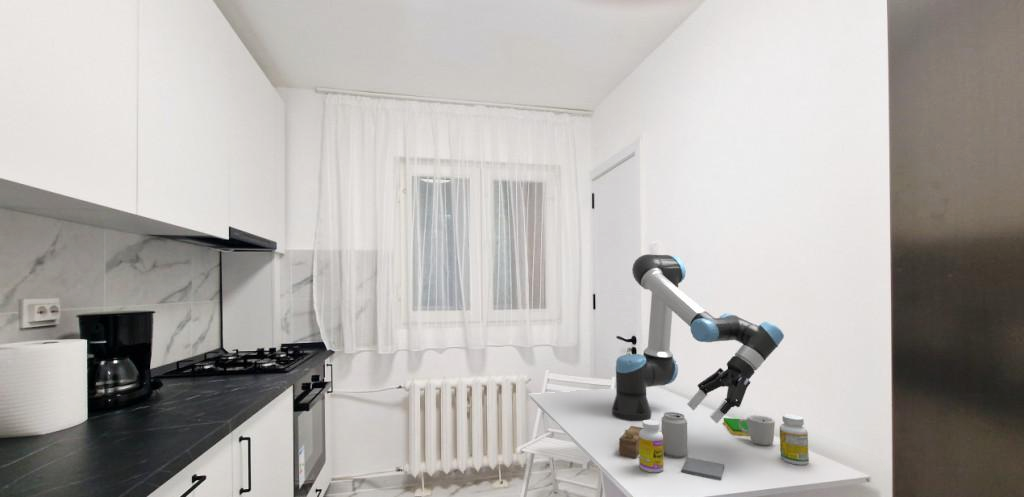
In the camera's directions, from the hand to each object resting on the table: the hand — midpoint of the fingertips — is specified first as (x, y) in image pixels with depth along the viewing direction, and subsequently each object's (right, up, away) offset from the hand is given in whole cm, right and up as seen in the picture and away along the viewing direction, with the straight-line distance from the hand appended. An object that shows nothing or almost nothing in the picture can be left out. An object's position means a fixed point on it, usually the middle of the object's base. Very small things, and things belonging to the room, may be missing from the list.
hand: (701, 413), depth 137 cm
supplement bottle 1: (-19, -11, -12) cm, 25 cm away
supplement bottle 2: (+26, -12, -5) cm, 29 cm away
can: (-9, -12, -1) cm, 15 cm away
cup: (+23, -13, +10) cm, 28 cm away
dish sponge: (+23, -15, +22) cm, 36 cm away
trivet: (-5, -11, -12) cm, 17 cm away
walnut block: (-20, -12, +2) cm, 24 cm away
